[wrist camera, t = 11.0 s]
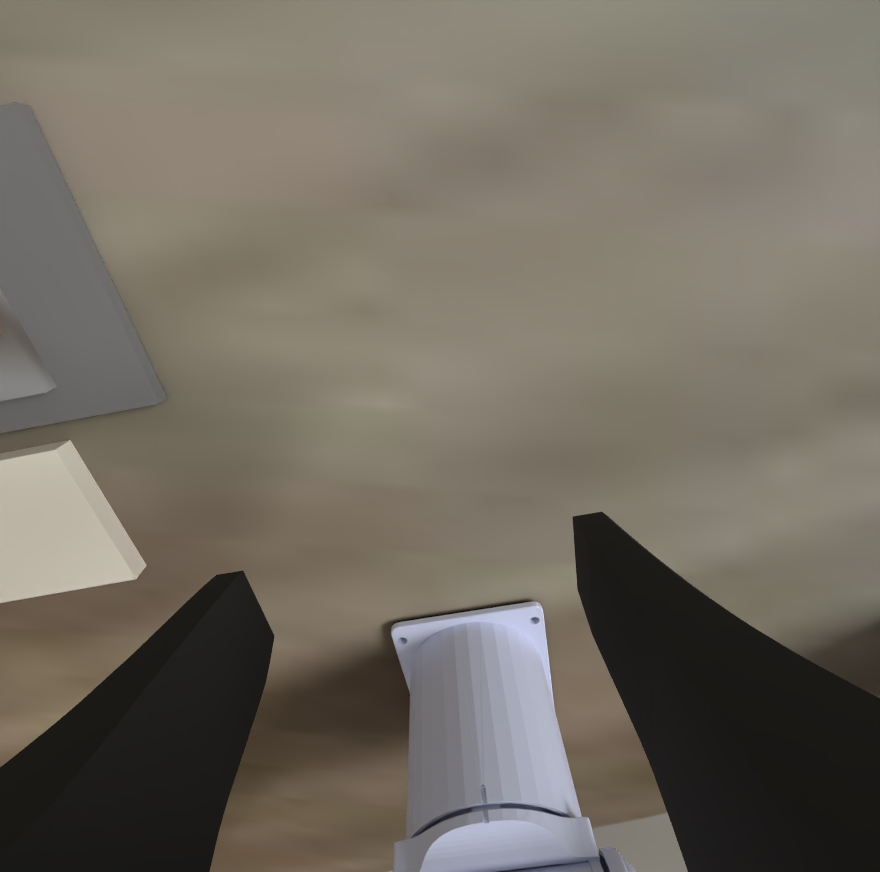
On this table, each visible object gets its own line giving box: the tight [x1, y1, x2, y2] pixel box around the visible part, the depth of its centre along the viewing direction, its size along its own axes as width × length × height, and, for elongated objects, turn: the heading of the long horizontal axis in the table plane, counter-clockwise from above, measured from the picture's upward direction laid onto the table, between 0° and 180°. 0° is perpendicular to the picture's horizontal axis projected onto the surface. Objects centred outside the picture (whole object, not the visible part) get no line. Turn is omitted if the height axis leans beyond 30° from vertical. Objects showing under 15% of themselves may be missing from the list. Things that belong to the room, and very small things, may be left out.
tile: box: [0, 440, 147, 603], centre depth 22 cm, size 7×1×9 cm
